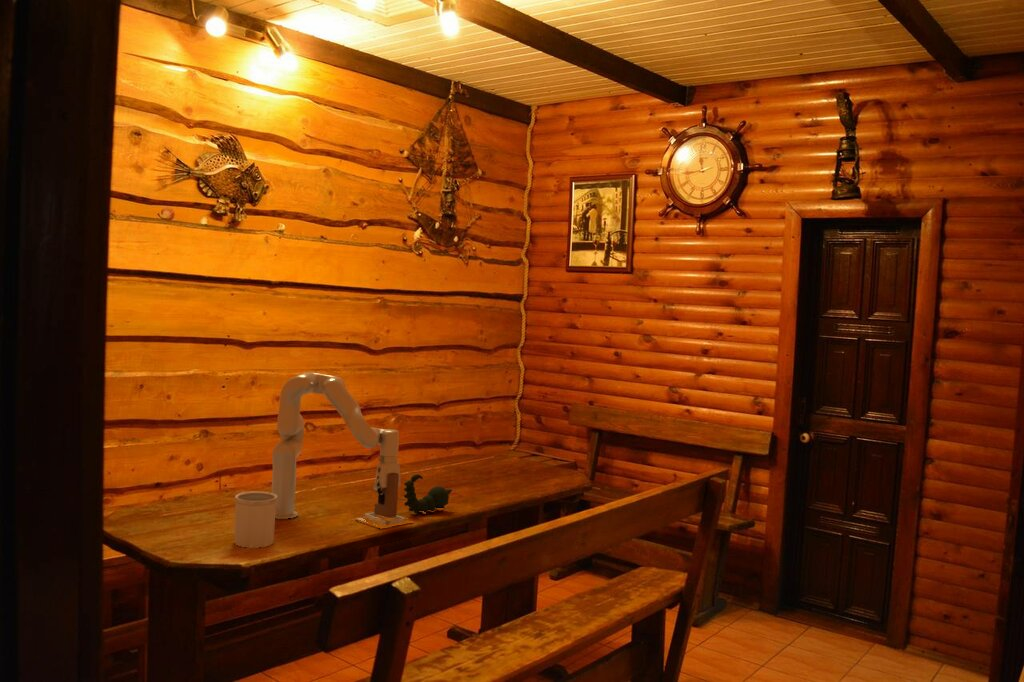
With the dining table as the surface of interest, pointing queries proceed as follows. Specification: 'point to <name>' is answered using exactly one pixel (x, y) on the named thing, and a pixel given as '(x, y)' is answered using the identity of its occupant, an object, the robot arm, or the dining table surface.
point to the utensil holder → (255, 519)
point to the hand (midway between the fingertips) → (386, 502)
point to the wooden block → (389, 498)
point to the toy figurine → (425, 497)
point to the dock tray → (372, 517)
